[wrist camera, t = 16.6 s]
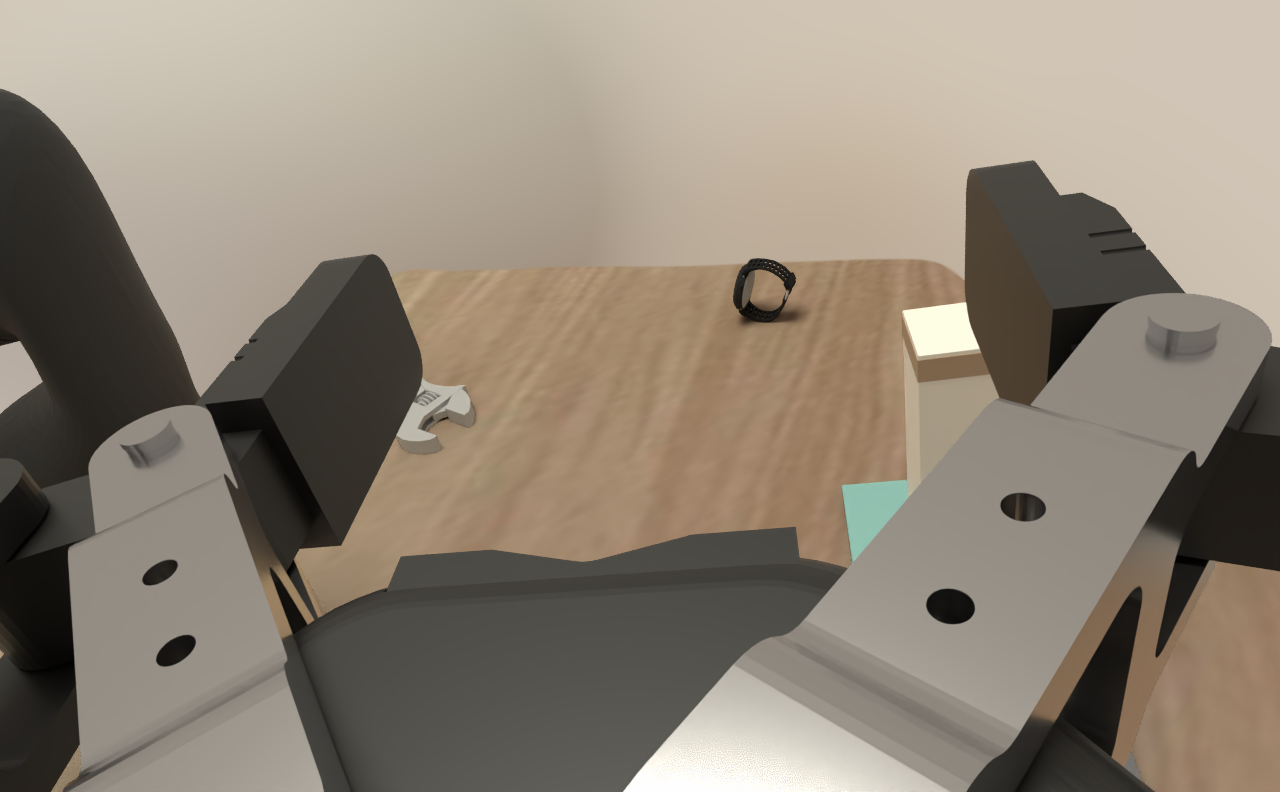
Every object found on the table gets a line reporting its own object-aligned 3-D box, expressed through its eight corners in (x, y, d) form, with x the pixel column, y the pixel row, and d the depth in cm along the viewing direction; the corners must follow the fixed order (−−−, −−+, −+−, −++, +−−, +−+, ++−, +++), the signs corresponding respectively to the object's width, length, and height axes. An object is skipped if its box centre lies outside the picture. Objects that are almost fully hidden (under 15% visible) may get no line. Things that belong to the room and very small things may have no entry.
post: (921, 575, 47) (917, 357, 39) (907, 521, 50) (901, 310, 43) (1002, 569, 46) (1014, 345, 39) (982, 514, 50) (990, 298, 42)
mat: (862, 637, 45) (861, 629, 45) (842, 492, 54) (841, 485, 54) (1093, 625, 43) (1094, 617, 43) (1033, 477, 52) (1033, 469, 52)
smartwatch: (756, 300, 75) (749, 247, 72) (806, 314, 72) (800, 259, 69) (725, 323, 73) (716, 270, 70) (774, 339, 70) (767, 283, 67)
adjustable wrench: (354, 334, 86) (347, 319, 85) (417, 311, 87) (411, 295, 86) (408, 465, 66) (400, 447, 65) (489, 432, 68) (482, 413, 67)
